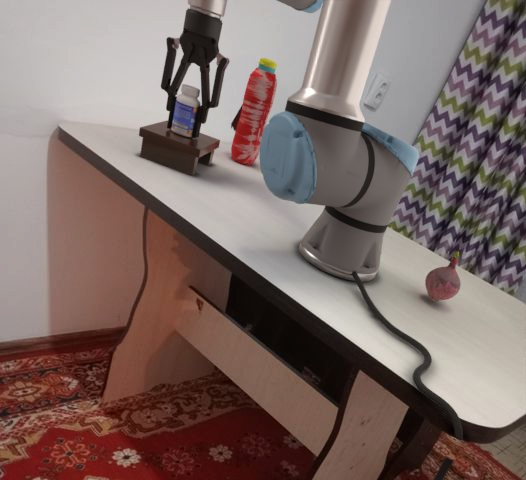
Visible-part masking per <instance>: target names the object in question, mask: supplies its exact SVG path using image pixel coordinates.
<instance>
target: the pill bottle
mask: <svg viewBox="0 0 526 480" xmlns="http://www.w3.org/2000/svg"><path fill="white" fill-rule="evenodd" d="M180 91H181V93H179V94H177V95H176V96H177V98H176V104H175V110H174V116H173V121H172V127H171V130H172V131H173V132H175V133H177V134H179V135H182V136H186V137H192V134H193V129H194V124H195V119H196V114H197V109H198V106H201V105H202V103H201V101H200V100H199V99H198V98H199V97H200V95H201V94H200V93H201V89H199V88H197V87H195V86H192V85H189V84H185V83H181V87H180Z"/></svg>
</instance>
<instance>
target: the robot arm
mask: <svg viewBox="0 0 526 480" xmlns="http://www.w3.org/2000/svg"><path fill="white" fill-rule="evenodd" d="M276 1H277V2H279V3H281V4H283V5H286V6H288V7H289V8H290V7H291V8H292V9H294V10H295V11H298V12H304V13H307V14H314V13H316V12H317V11H319V10H320V13H319V17H318V22H317V25H316V29H315V32H314V37H313V41H312V45H311V48H310V52H309V56H308V60H307V64H306V67H305V72H304V75H303V80H302V83H301V87H300V88H299V90H297V91H296V92H294V93H292V94H291V95H290V96H289V97H287V100H286V104H285V108H284V111H281V112H278V113H275V114H274V115H273V116H271V118H270V119H269V120H268V124H267V123H266V125H265V129H264V131H263V134H262V138H261V143H260V150H259V166H260V172H261V174H262V178H263V182H264V184H265V185H266V187H267V190H269V191H270V193H271V194H272V195H273V196H275V197H276V198H278V199H281V200H284V201H288V202H293V203H295V204H298V205H305V204H307V205H315V206H316V205H317V206H324V208H323V211H322V212H321V214H320V215H319V216H318V218H316V220H315V221H314V222H313V224H312V225H311V226H310V227H309V229H308V230H307V231H306V232H305V234H304V235H303V237H302V239H301V241H300V244H299V247H298V250H299V253H300V254H301V256H302V257H303V258H304V259H305V260H306V261H307V262H308V263H310V264H311V265H312V266H314V267H316V268H317V269H319V270H321V271H323V272H325V273H327V274H329V275H332V276H334V277H336V278H340V279H343V280H348V281H352V282H355V283H356V285H357V287H358V289H359V291H360V293H361V296H362V298H363V300H364V302H365V303H366V305H367V306H368V308H369V310H370V311H371V313H372V314H373V315H374V317H375V318H376V319H377V320H378V321H379V322H380V323H381V325H383V326H384V327H385V328H386V329H387V330H388V331H389V332H391V333H392V334H394V335H395V336H397V337H398V338H400V339H401V340H402V341H405V342H407V343H408V344H410V346H412V347H414V348H415V349H416V350H417V351H419V352H420V354H422V356H423V358H424V361H423V362H422V363H421V364H420V365H418V366H417V367H416V368H415V369H414V371H413V374H412V380H413V383H414V384H415V387H416V388H417V390H418V391H420V392H421V393H422V394H423V395H424V396H425V397H427V399H429V400H431V401H432V402H434V403H435V404H436V405H437V406H439V407H440V408H441V409H442V410H443V411H444V412H445V413H446V414H447V416H448V417H449V419H450V421H451V423H452V426H453V432H454V433H453V434H454V436H455V437H456V438H457V439H458V440H460V441H462V440H463V438H464V430H463V425H462V422H461V419H460V417H459V414H458V413H457V412H456V410H455V409H454V407H453V406H452V405H451V404H450V403H449V402H447V400H445V399H444V398H443V397H441V396H440V395H438V394H437V393H435V392H434V391H432V390H431V389H430V388H429V387H428V386H426V385H425V384H424V383H423V381H422V378H421V375H422V374H423V372H425V371H426V370H427V369H428V368H430V366H431V365H432V363H433V358H432V355H431V353H430V351H429V350H428V349H427V347H426V346H424V345H423V344H422V343H421V342H419V341H418V340H417V339H415V338H414V337H412V336H410V335H409V334H407V333H405V332H403V331H402V330H401V329H399V328H398V327H396V326H395V325H393V324H392V323H391V322H390V321H389V320H388V319H387V317H385V316H384V315H383V314H382V313H381V312H380V311H379V309H378V308H377V307H376V305H375V303H374V302H373V301H372V299H371V298H370V296H369V294H368V291H367V289H366V287H365V285H364V283H363V282H369V281H373V280H374V279H375V277H376V275H377V273H378V272H379V268H380V264H381V255H382V249H383V241H384V235H385V233H386V231H387V229H388V226H389V225H390V222H391V220H392V219H393V216H394V214H395V213H396V210H397V208H398V206H399V204H400V202H401V199H402V198H403V196H404V193H405V191H406V189H407V187H408V185H409V184H410V181H411V179H412V178H413V177H414V172H415V169H416V167H417V164H418V162H419V158H420V154H419V151H418V149H417V148H416V147H415V146H413V145H411V144H409V143H407V142H405V141H403V140H402V139H400V138H398V137H395V136H393V135H392V134H389V133H388V132H385V131H383V130H381V129H380V128H378V127H376V126H373V125H371V124H370V123H367V122H366V119H365V117H364V114H363V112H362V109H361V105H360V102H361V99H362V96H363V93H364V89H365V86H366V83H367V81H368V77H369V74H370V71H371V67H372V65H373V61H374V59H375V54H376V52H377V48H378V45H379V42H380V38H381V36H382V32H383V29H384V26H385V22H386V20H387V16H388V14H389V10H390V6H391V4H392V0H276ZM227 3H228V0H187V4H188V5H189V8H188V7H187V9H186V11H185V16H184V22H183V29H182V32H181V34H180V36H179V37H171V36H167V38H166V55H165V61H164V67H163V72H162V76H161V83H160V89H161V90H163V91H164V92H166V93H167V100H166V105H165V106H166V107H165V110H166V111H167V112H169V113H168V118H167V121H168V124H167V128H169V129H171V127H172V121H173V116H174V110H175V104H176V98H177V96H178V95H179V94H178V92H179V90H180V89H181V87H182V84H183V81H184V79H185V76H186V74H187V73H188V70H189V68H190V67H191V65H192V64H195V65H196V66H197V67H199V72H200V93H201V94H200V95H201V105H200V106H198V109H197V114H196V119H195V124H194V129H193V134H192V137H193V138H197V137H199V133H201V128H202V124H203V125H204V124H206V122H207V120H208V115H209V111H210V109H215V108H218V107H219V104H220V99H221V93H222V88H223V82H224V78H225V72H226V70H227V67H228V66H229V64H230V58H228V57H225V55H223V54H222V53H221V52H220V49H219V42H220V39H221V33H222V30H223V29H222V28H223V24H224V23H223V20H221V18H223V17H225V13H226V9H227V5H228V4H227ZM179 48H181V51H182V53H183V55H182V57H181V59H180V62H179V66H178V68H177V70H176V73H175V75H174V77H173V73H174V68H175V63H176V58H177V51H178V50H179ZM215 59H216V63H215V64H216V66H217V67H216V70H215V75H214V79H213V80H214V81H213V86H212V91H211V83H210V71H211V63H212V61H214V60H215ZM453 463H454V459H451V458H448V457H445V458H444V460H443V461H442V463H441V464H440V467H439V468H438V470H437V472H436V474H435V476H434V478H433V480H444V478H445V477H446V475H447V473H448V472H449V469H450V468H451V466H452V464H453Z"/></svg>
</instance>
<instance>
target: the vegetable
mask: <svg viewBox="0 0 526 480" xmlns="http://www.w3.org/2000/svg"><path fill="white" fill-rule="evenodd" d="M459 256H460V252H459V251H455V253H454V254H453V255H452V258H451V260H450V262H449V263H448V265H446V266H438V267H436V268H434V269H432V270H430V271H429V272H428V273H427V275H426V277H425V280H424V281H425V283H424V285H425V289H426V293H427V295H428V297H429V299H430V300H431V301H433V302H439V301H446V300H450V299H452V298H454V297H455V296H456V295H458V293H459V291H460V289H461V285H462V284H461V283H462V282H461V279H460V276H459V274H458V272H457V269H456V268H457V267H456V266H457V263H458V260H459Z"/></svg>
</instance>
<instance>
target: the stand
mask: <svg viewBox="0 0 526 480" xmlns="http://www.w3.org/2000/svg"><path fill="white" fill-rule="evenodd" d="M167 124H168V120H163V121H160V122H156V123H152V124H148V125H144V126H140V127H139V131H138V136H139V137H141V138H142V141H141V148H140V155H139V157H141V158H142V159H143V158H144V159H146V160H149V161H151V162H155V163H156V164H159V165H162V166H164V167H167V168H169V169H173V170H175V171H178V172H181V173H184V174H186V175H189V176H194V175H195V174H196V172H197V168H198V163H201V164H203V165H206V166H210V165H211V164H212V163H213V158H214V154H215V150H217V149H218V148H220V143H221V139H219V138H216V137H212V136H210V135H209V134H208V135H207V134H205V133H203V132H200V133H199V137H197V138H193V137H186V136H182V135H179V134H177V133H175V132H173V131H172V130H171V129H169V128H167Z"/></svg>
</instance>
